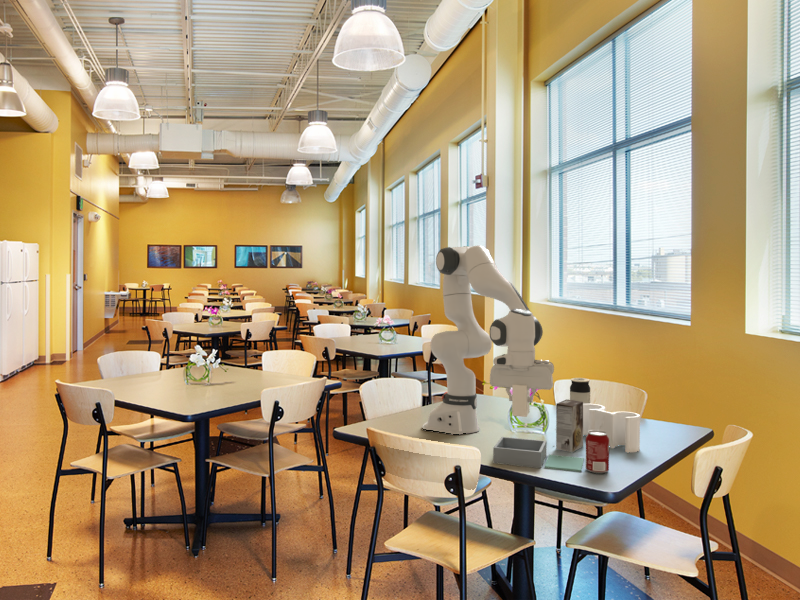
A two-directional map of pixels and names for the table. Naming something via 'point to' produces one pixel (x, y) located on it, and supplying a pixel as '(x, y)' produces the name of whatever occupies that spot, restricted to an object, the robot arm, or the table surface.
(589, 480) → the table surface
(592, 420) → the bracket
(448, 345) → the robot arm
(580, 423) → the coffee box
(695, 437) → the table surface
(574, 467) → the mat
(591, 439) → the soda can
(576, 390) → the travel mug
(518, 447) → the parts bin
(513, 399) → the label box
